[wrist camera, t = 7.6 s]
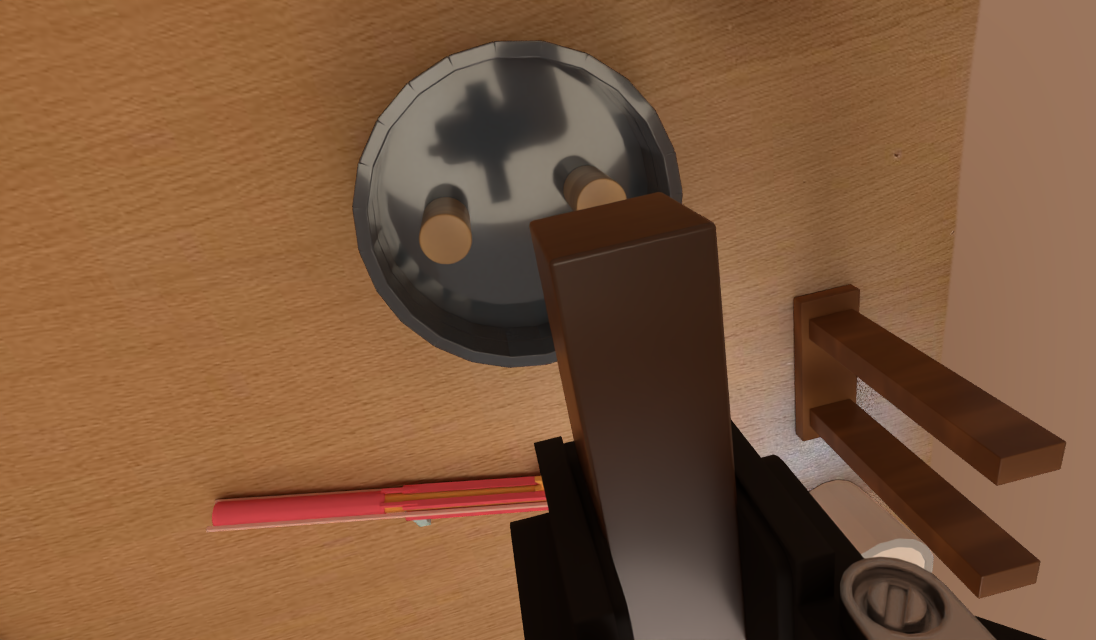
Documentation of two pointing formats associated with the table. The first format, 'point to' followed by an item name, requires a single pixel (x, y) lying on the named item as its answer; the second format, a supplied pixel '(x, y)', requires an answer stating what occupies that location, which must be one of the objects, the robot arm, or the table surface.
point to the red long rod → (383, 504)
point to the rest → (937, 406)
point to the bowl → (496, 186)
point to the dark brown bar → (650, 405)
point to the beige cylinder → (870, 524)
